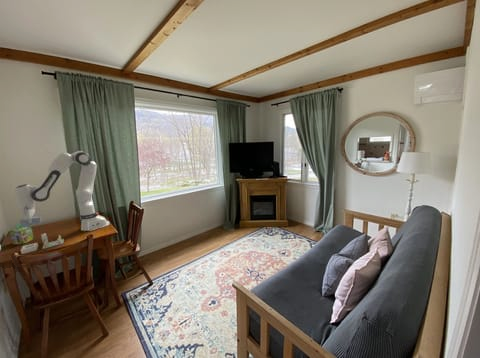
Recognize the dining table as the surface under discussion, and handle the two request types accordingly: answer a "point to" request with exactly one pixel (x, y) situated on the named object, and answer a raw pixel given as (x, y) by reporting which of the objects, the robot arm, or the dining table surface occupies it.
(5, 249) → the dining table surface
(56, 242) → the peg rack
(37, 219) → the bar
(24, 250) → the slot block
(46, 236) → the steel pin
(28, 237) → the chalk box
